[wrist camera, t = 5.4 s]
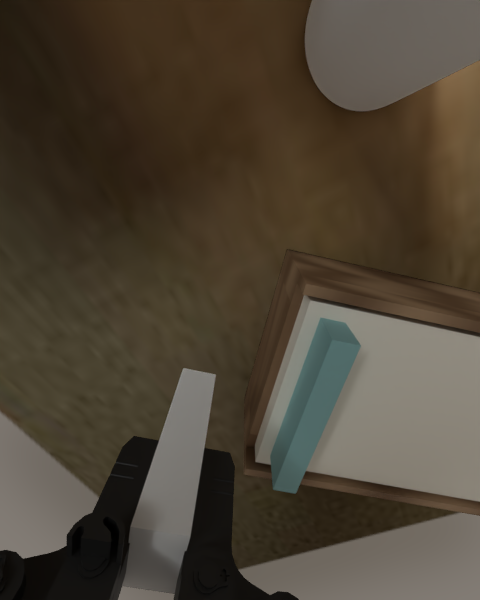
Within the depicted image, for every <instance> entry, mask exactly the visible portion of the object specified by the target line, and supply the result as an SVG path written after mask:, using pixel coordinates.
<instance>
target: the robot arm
mask: <svg viewBox="0 0 480 600" xmlns="http://www.w3.org/2000/svg"><path fill="white" fill-rule="evenodd" d="M215 377H216V375H215V374H210V373H205V372H200V371H195V370H190V369H185V368H183V370H182V373H181V376H180V379H179V382H178V385H177V388H176V391H175V394H174V397H173V400H172V403H171V406H170V409H169V412H168V415H167V418H166V421H165V424H164V427H163V430H162V433H161V436H160V439H159V441H158V440H153V439H147V438H142V437H137V436H134V437H132V438H131V439H130V440H129V441H128V442H127V443H126V444H125V445H124V446H123V447H122V450H121V452H120V454H119V456H118V458H117V460H116V463H115V465H114V467H113V469H112V471H111V474H110V476H109V478H108V480H107V482H106V484H105V486H104V489H103V491H102V493H101V495H100V497H99V500H98V502H97V504H96V506H95V508H94V510H93V513H91V514H88V515H86V516H84V517H83V518H82V519H81V520H79V521H78V522H77V523H76V524H75V525H74V526H73V527H72V529H71V530H70V532H69V533H68V534H67V546H65V547H64V548H62V549H60V550H58V551H55V552H52V553H48V554H43V555H39V556H34V557H30V558H25V559H22V558H21V557H20V556H19V555H18V554H17V553H16V552H12V551H8V550H3V551H0V600H118V597H119V594H120V591H121V587H122V586H126V587H133V588H139V589H146V590H153V591H159V592H166V593H173V594H175V595H174V600H299V599H298V598H296V597H295V596H293V595H291V594H290V593H288V592H276V593H274V594H272V595H269V594H267V593H266V592H264V591H262V590H261V589H259V588H257V587H256V586H254V585H253V584H251V583H250V582H248V581H247V580H246V579H245V578H244V577H243V576H242V575H241V573H240V572H239V571H238V569H237V567H236V565H235V563H234V559H233V556H232V547H231V541H232V518H233V494H234V470H235V466H234V463H233V461H232V458H231V455H230V453H228V452H223V451H218V450H212V449H207V448H204V447H205V440H206V434H207V428H208V421H209V415H210V409H211V402H212V396H213V389H214V383H215ZM122 584H123V585H122Z"/></svg>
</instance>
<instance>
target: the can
mask: <svg viewBox="0 0 480 600" xmlns="http://www.w3.org/2000/svg"><path fill="white" fill-rule="evenodd" d="M305 53H306V59H307V63H308V67H309V70H310V73H311V75H312V78H313V80H314V82H315V83H316V85H317V87H318V88H319V90H320V91H321V92H322V93H323V94H324V95H325V96H326V97H327V98H328V99H329V100H330V101H331V102H333V103H334V104H336V105H338V106H340V107H342V108H345V109H348V110H353V111H371V110H376V109H379V108H382V107H385V106H387V105H390V104H392V103H394V102H396V101H398V100H400V99H402V98H404V97H406V96H409V95H411V94H413V93H415V92H417V91H419V90H421V89H423V88H425V87H427V86H429V85H431V84H433V83H435V82H437V81H439V80H441V79H443V78H445V77H447V76H449V75H451V74H453V73H455V72H457V71H459V70H461V69H463V68H465V67H467V66H469V65H471V64H473V63H475V62H477V61H479V60H480V0H312V2H311V5H310V8H309V12H308V17H307V22H306V28H305Z"/></svg>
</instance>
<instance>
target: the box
mask: <svg viewBox="0 0 480 600" xmlns="http://www.w3.org/2000/svg"><path fill="white" fill-rule="evenodd" d="M304 295H307V296H312V297H317V298H321V299H326V300H330V301H335V302H340V303H344V304H349V305H353V306H358V307H363V308H367V309H372V310H376V311H381V312H386V313H390V314H395V315H400V316H404V317H409V318H413V319H418V320H423V321H427V322H432V323H436V324H441V325H446V326H450V327H455V328H459V329H464V330H469V331H473V332H478V333H480V293H478V292H474V291H469V290H465V289H460V288H456V287H452V286H447V285H443V284H438V283H434V282H430V281H425V280H421V279H416V278H412V277H407V276H403V275H399V274H394V273H390V272H385V271H381V270H377V269H372V268H368V267H363V266H359V265H355V264H350V263H346V262H341V261H337V260H332V259H328V258H324V257H319V256H315V255H310V254H306V253H302V252H297V251H293V250H288V249H287V251H286V255H285V258H284V262H283V265H282V269H281V272H280V276H279V279H278V283H277V286H276V290H275V293H274V297H273V300H272V304H271V307H270V310H269V314H268V317H267V321H266V324H265V328H264V331H263V335H262V338H261V342H260V345H259V349H258V352H257V356H256V359H255V363H254V366H253V370H252V373H251V377H250V380H249V384H248V387H247V391H246V394H245V405H244V475H249V476H255V477H260V478H266V479H272V472H271V465H270V464H264V463H259V462H255V443H256V440H257V436H258V433H259V430H260V427H261V424H262V421H263V418H264V415H265V412H266V409H267V406H268V403H269V400H270V397H271V394H272V391H273V388H274V385H275V382H276V379H277V376H278V373H279V370H280V367H281V364H282V361H283V358H284V355H285V352H286V349H287V346H288V343H289V339H290V336H291V333H292V330H293V327H294V324H295V321H296V318H297V315H298V312H299V309H300V306H301V303H302V300H303V297H304ZM300 484H301V485H306V486H312V487H318V488H324V489H329V490H335V491H341V492H347V493H352V494H358V495H364V496H370V497H375V498H381V499H387V500H393V501H398V502H404V503H410V504H416V505H421V506H427V507H433V508H439V509H444V510H450V511H456V512H462V513H467V514H474V515H479V516H480V502H479V501H473V500H467V499H462V498H456V497H450V496H445V495H439V494H433V493H428V492H422V491H417V490H411V489H405V488H400V487H394V486H388V485H383V484H377V483H371V482H366V481H360V480H354V479H349V478H343V477H338V476H332V475H326V474H321V473H315V472H309V471H306V472H305V474H304V476H303V478H302V481H301V483H300Z"/></svg>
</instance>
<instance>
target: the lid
mask: <svg viewBox="0 0 480 600" xmlns="http://www.w3.org/2000/svg"><path fill="white" fill-rule="evenodd" d="M255 462H259V463H264V464H270V465H271V472H272V484H273V490H278V491H283V492H289V493H295V494H296V492H297V490H298V487H299V485H300V483H301V481H302V478H303V476H304V474H305V472H306V471H309V472H315V473H321V474H326V475H332V476H338V477H343V478H349V479H354V480H360V481H366V482H371V483H377V484H383V485H388V486H394V487H400V488H405V489H411V490H417V491H422V492H428V493H433V494H439V495H445V496H450V497H456V498H462V499H467V500H473V501H479V502H480V333H478V332H473V331H469V330H464V329H459V328H455V327H450V326H446V325H441V324H436V323H432V322H427V321H423V320H418V319H413V318H409V317H404V316H400V315H395V314H390V313H386V312H381V311H376V310H372V309H367V308H363V307H358V306H353V305H349V304H344V303H340V302H335V301H330V300H326V299H321V298H317V297H312V296H307V295H304V297H303V300H302V303H301V306H300V309H299V312H298V315H297V318H296V321H295V324H294V327H293V330H292V333H291V336H290V339H289V343H288V346H287V349H286V352H285V355H284V358H283V361H282V364H281V367H280V370H279V373H278V376H277V379H276V382H275V385H274V388H273V391H272V394H271V397H270V400H269V403H268V406H267V409H266V412H265V415H264V418H263V421H262V424H261V427H260V430H259V433H258V436H257V440H256V443H255Z"/></svg>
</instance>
